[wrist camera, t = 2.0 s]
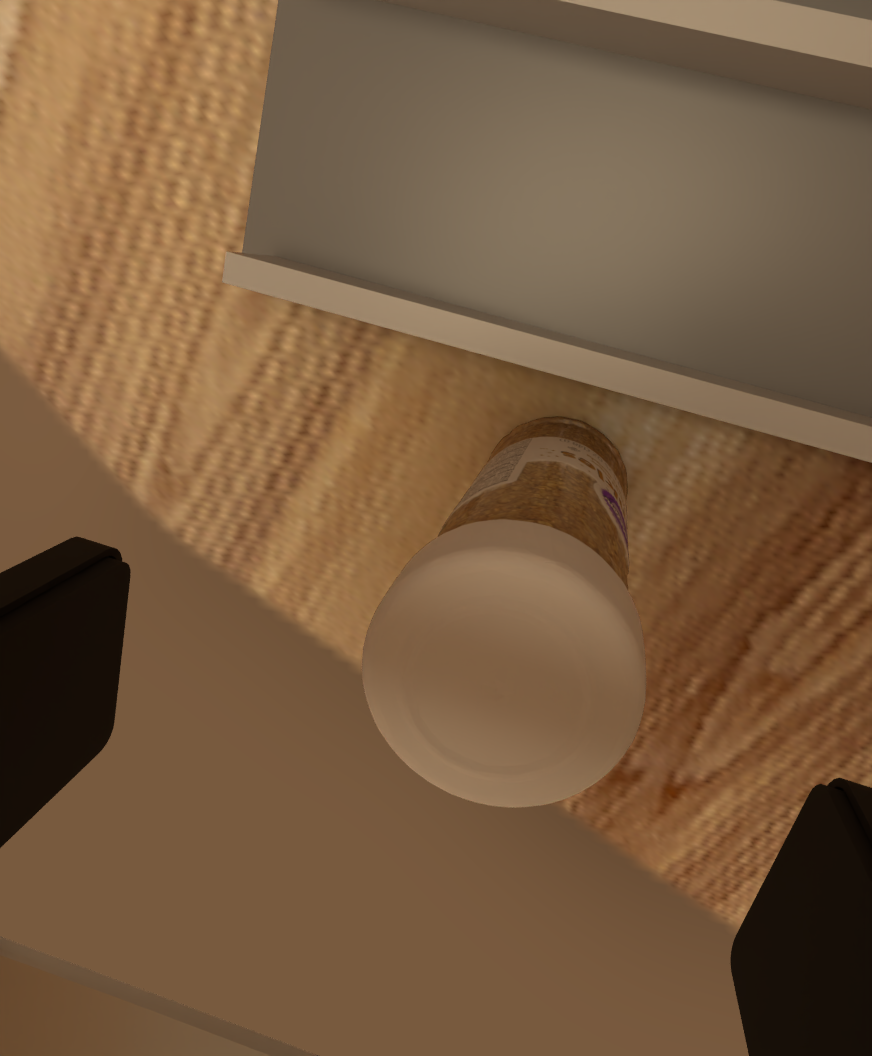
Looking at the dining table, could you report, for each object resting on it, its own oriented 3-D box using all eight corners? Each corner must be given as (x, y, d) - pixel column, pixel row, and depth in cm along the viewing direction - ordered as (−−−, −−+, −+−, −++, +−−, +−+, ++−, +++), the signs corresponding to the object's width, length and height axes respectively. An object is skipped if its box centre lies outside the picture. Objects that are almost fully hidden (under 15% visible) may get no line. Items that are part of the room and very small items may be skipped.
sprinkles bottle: (656, 497, 24) (712, 735, 11) (540, 576, 25) (474, 863, 13) (567, 382, 23) (519, 493, 11) (454, 470, 25) (297, 658, 12)
